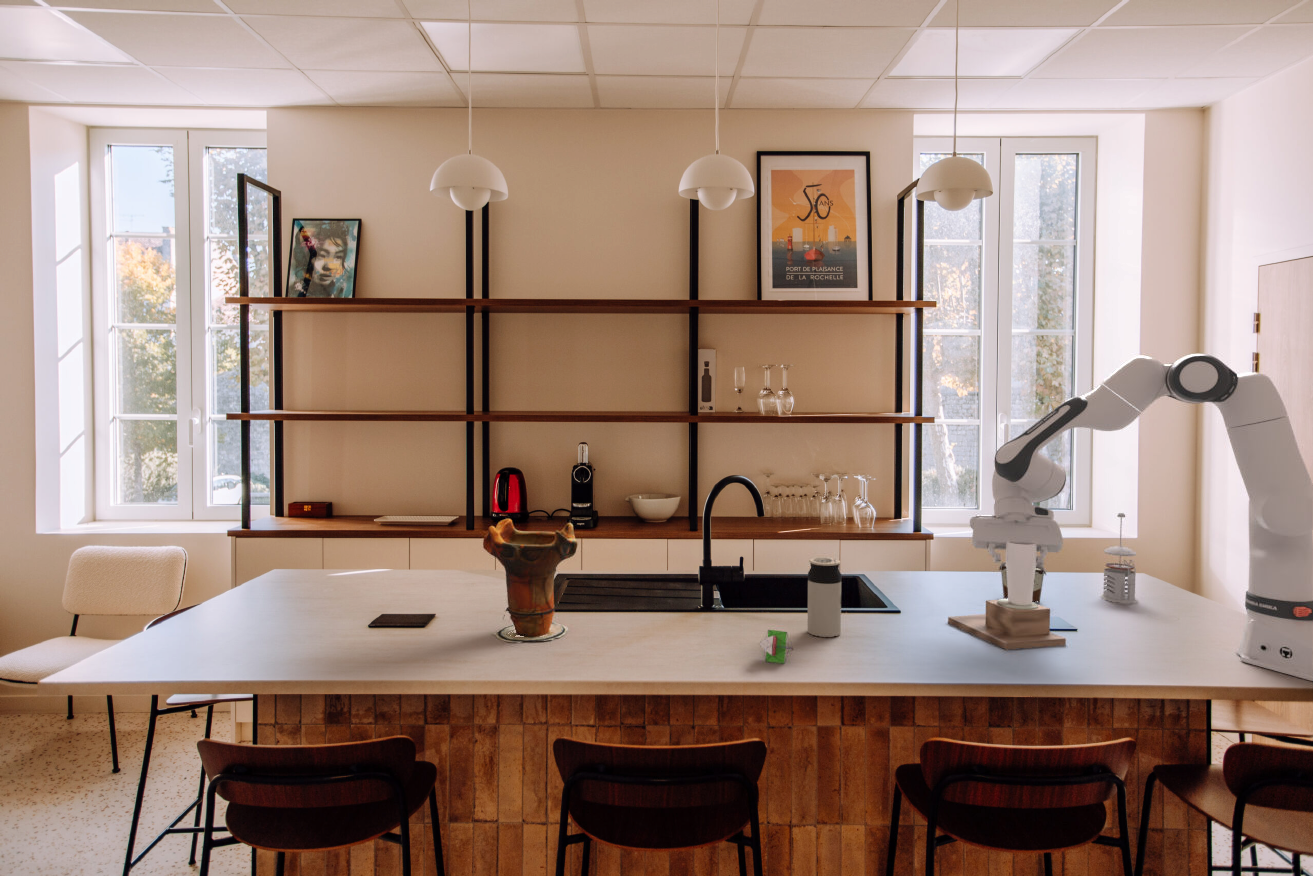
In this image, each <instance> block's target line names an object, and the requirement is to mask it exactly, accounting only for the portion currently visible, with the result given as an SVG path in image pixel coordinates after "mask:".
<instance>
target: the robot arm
mask: <svg viewBox="0 0 1313 876" xmlns="http://www.w3.org/2000/svg"><path fill="white" fill-rule="evenodd" d="M1162 397H1169V398H1171V399H1175V400H1177V401H1179V402H1182V403H1183V402H1184V403H1186V404H1197V405H1198V404H1202V403H1203V404H1204V403H1212V404H1213V405H1214V406H1216V407H1217V409H1218V410H1219V411H1220V413H1221V416H1222V418H1223V423H1224V426H1225V429H1226V433H1227V436H1228V439H1229V442H1230V445H1231V447H1232V448H1231V449H1232V451H1233V455H1234V458H1235V461H1236V464H1237V467H1238V469H1239V473H1240V475H1241V478H1242V481H1243V484H1244V487H1245V489H1246V493H1247V495H1248V548H1249V549H1248V550H1249V553H1248V555H1249V557H1248V560H1249V565H1248V589H1247V591H1245V598H1244V599H1245V600H1244V602H1245V603H1244V606H1245V609H1246V617H1245V621H1244V622H1245V623H1244V627H1243V628H1244V629H1243V633H1242V636H1241V640H1240V642H1239V645H1238V648H1237V650H1236V653H1237V654H1238V655H1239V656H1240V661H1241V662H1243V663H1245V664H1250V665H1254V666H1257V667H1261V668H1264V669H1268V670H1271V671H1274V672H1278V673H1282V674H1286V675H1290V676H1292V677H1297V678H1301V679H1303V680H1308V681H1311V682H1313V482H1312V479H1311V476H1310V474H1309V471H1308V469H1307V467H1306V464H1305V461H1304V458H1303V456H1302V454H1301V452H1300V449H1299V446H1298V443H1297V439H1296V437H1295V433H1294V430H1293V427H1292V424H1291V420H1290V418H1289V416H1288V411H1287V409H1286V406H1285V404H1284V401H1283V399H1282V397H1281V395H1280V393H1279V392H1278V389H1277V388H1276V386H1275V384H1274V382H1273V381H1272V379H1271V378H1270V377H1268V376H1267V375H1266V374H1263V373H1260V372H1243V373H1239V374H1238V373H1236V372H1235V371H1234V370H1232V369H1231V368H1230V367H1229V366H1228V365H1226V364H1225V363H1224V362H1223V361H1222V360H1220V359H1218V358H1217V357H1216V356H1213V355H1210V354H1207V353H1192V354H1187V355H1186V356H1183V357H1180V358H1179V359H1178V360H1176V361H1174V362H1172V363H1169V364H1165V363H1162V362H1161V361H1159V360H1157V359H1156V358H1154V357H1151V356H1147V355H1136V356H1133V357H1132V358H1130V359H1129V360H1128V361H1126V362H1124V363H1122V365H1121V366H1120V367H1118V368H1117V369H1115V370H1114V371H1113V372H1112V373H1111V374H1110V375H1108V376H1107V377H1106V378H1105V379H1104V380H1103V381H1102V382H1101V383H1100V384H1099V385H1098V386H1097V387H1095V388H1094V389H1093V390H1091V391H1090V392H1088V393H1086V394H1084V395H1081V396H1074V397H1071V398H1069V399H1067V400H1065V401H1063V402H1062V403H1060V404H1059V405H1057V406H1056V407H1055V408H1054V409H1052V410H1051V411H1050V412H1048V413H1047V414H1046V415H1045V416H1043V417H1042V418H1040V419H1039V420H1038V421H1037V422H1035V423H1034V424H1033V425H1032V426H1030V427H1029V428H1028V429H1026V430H1025V431H1023V432H1022V433H1020V435H1018V436H1017V437H1015V438H1013V439H1011V440H1009V441H1006V442H1005V444H1002V445H1001V447H1000V448H998V450H997V451H996V453H995V456H994V461H993V463H994V471H993V475H992V481H991V483H992V484H991V487H992V497H993V499H994V504H993V511H994V515H987V514H986V515H982V514H976V515H975V516H973V517H971V518H970V519H969V527H970V528H971V529H972V538H971V539H972V540H971V545H972V546H973V547H974V548H975V549H983V550H984V549H986V550H987V552H988V554H989V555H990V556H991V557H992V558H993V563H994V564H1001V563H1002V558H1001V557H1002V555H1001V553H998V552H997V551H996V550H1002V551H1006V541H1008V540H1009V542H1010V543H1014V544H1025V545H1030V544H1032V542H1035V543H1036V544H1037V553H1038V552H1039V554H1040V555H1037V560H1036V565H1040V566H1043V567H1044V565H1045V558H1046V556H1047V555H1048V553H1059V552H1060V551H1061V550H1062V549H1063V544H1064V539H1063V535H1062V531H1061V528H1060V525H1059V524H1058V522H1057V521H1056V520H1055V519H1054V511H1053V509H1049V508H1046V507H1041V506H1038V505H1035V504H1037V503H1042V502H1045V501H1048V500H1050V499H1052V498H1055V497H1058V495H1059V494H1061V493H1062V492H1063V489H1064V488H1065V485H1066V483H1067V474H1066V471H1065V469H1064V468H1063V467H1061V466H1060V465H1058V464H1057V463H1055V462H1054V461H1053V460H1052V459H1050V458H1048V457H1046V456H1045V455H1044V454H1042V453H1040V451H1041V450H1042V449H1043V448H1044V447H1045V446H1047V445H1049V444H1050V443H1051V442H1053V440H1055V439H1056V438H1057V437H1059V436H1060V435H1062V434H1063V433H1064V432H1066V431H1069V430H1071V429H1074V428H1085V429H1091V430H1096V431H1100V432H1114V431H1120V430H1123V429H1124V428H1126V427H1128V426H1129V425H1131V424H1132V423H1133V422H1134V421H1135V420H1136V419H1137V418H1138V417H1139V416H1140V415H1142V413H1143V412H1144V411H1145V410H1146V409H1147V408H1149V407H1150V405H1152V404H1153V403H1154V402H1155V401H1156V400H1159V399H1160V398H1162Z"/></svg>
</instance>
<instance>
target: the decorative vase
mask: <svg viewBox="0 0 1313 876" xmlns="http://www.w3.org/2000/svg"><path fill="white" fill-rule="evenodd" d="M578 543H579V542H578V540H577V539H576V536H575V531H574V525H573V523H571V522H567V523H566V524H565V526H564V527H563V528H562V529H561V530H560V531H559V530H555V531H541V530H540V531H539V530H538V531H533V530H532V531H522V530H518V529H516V528H515V526H514V523H513V520H512V519H511V518H505V519H502V520H500V521H498V523H497V524H496V526H493V525H491V526H489V527H488V533H487V534H486V535H484V537H483V540H482V546H483V547H482V548H483V549H484V550H485V551H486V552H487V553H488V554H490V556H493V557H494V558H496V559H497V560H498V561H499V563H500V564H501V565H502V566H503V568H504V571H505V584H506V594H507V596H506V597H507V606H508V607H507V608H506V609H505V610H504V612H508V613H509V615H510V616H509V618H510V620H511V621H512V625H511V624H508V625H506V626H507V627H506V626H503V627H504V628H503V627H502V628H503V629H502V628H500V629H501V630H500V629H498V630H496V631H497V632H496V631H495V632H494V633H493V635H495V637H496V638H497V639H499V640H500V641H503V642H508V643H509V642H510V643H518V644H521V643H523V642H528V641H529V642H536V641H538V642H539V641H540V642H541V641H545V642H546V641H553V640H554V639H557V638H562V636H565V635H566V633H568V631H569V630H570V629H569V628H568V626H567V625H562V624H559V623H558V622H554V621H553V618H554V614H555V611H556V605H555V599H554V595H555V594H554V586H555V575H556V572H557V567H558V566H559V564H560V563H561V562H564V561H565V560H567V559H570V558H572V557H574V555H576V554H577V553H576V552H577V548H578ZM505 616H506V615H505V614H503V618H502V622H503V621H504V618H505ZM514 627H515V630H516V633H514V632H513V631H514V630H509V629H510V628H514ZM550 630H552V631H550ZM511 631H512V632H513V633H512V632H511ZM509 632H510V633H509ZM508 633H509V634H508ZM546 634H547V635H546ZM510 635H511V636H510ZM516 635H520V636H524V637H515V636H516ZM543 635H546V636H544V637H540V636H543Z"/></svg>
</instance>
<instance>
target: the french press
mask: <svg viewBox="0 0 1313 876" xmlns="http://www.w3.org/2000/svg"><path fill="white" fill-rule="evenodd" d="M1117 517H1118V518H1120V528H1119V529H1120V531H1119V533H1120V534H1119V545H1117V546H1111V547H1107V548H1106V549H1104V550H1103V552H1104V553H1105V554H1107V555H1111V556H1118V557H1119V562H1118V563H1117V562H1115V563H1114V562H1108V563H1106V564H1105V567H1107V568H1104V569H1103V577H1104V578H1103V581H1104V582H1103V593H1102V594H1101V595H1099V598H1100V599H1101V598H1102V599H1101V600H1103V599H1104V601H1106V600H1108V602H1111V601H1112V602H1111V603H1116V602H1119V603H1118V604H1127V603H1131V604H1138V603H1139V602H1140V601H1139V600H1138V598H1136V573H1137V572H1136V567H1135V564H1134V561H1133V559H1129V563H1128V562H1127V560H1126V559H1123V563H1121V558H1122V557H1134V556H1136V555H1137V554H1138V552H1136V551H1135V550H1133V549H1131V548H1129V547H1126V546H1123V545H1122V526H1123V524H1122V523H1123V521H1122V518H1126V514H1125V512H1123V513H1122V512H1119V513H1117ZM1131 563H1132V565H1131ZM1133 570H1134V571H1133Z"/></svg>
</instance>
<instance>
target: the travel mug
mask: <svg viewBox="0 0 1313 876" xmlns="http://www.w3.org/2000/svg"><path fill="white" fill-rule="evenodd" d="M808 562H809V563H810V568H809V570H808V572H807V633H809V634H810V635H812V636H814V635H815V636H814V637H817V636H819V637H818V638H826V637H829V638H835V637H834V636H836V637H837V636H839V635H841V634H842V631H841V630H842V628H841V627H842V624H841V623H842V573H841V571H840V569H839V568H840V564H841V561H840V560H839V559H837V558H832V557H813V558H810V559H809V560H808Z"/></svg>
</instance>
